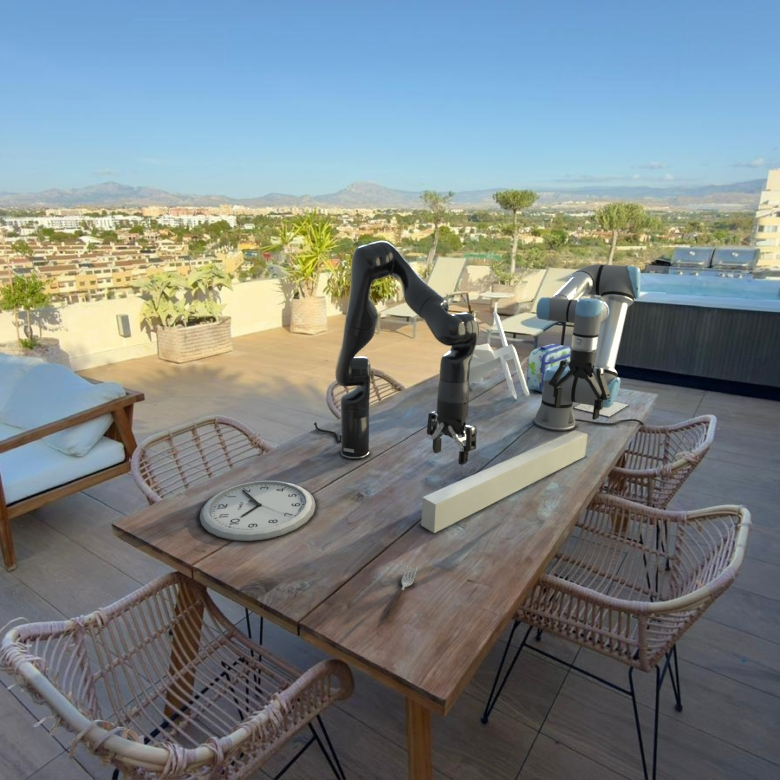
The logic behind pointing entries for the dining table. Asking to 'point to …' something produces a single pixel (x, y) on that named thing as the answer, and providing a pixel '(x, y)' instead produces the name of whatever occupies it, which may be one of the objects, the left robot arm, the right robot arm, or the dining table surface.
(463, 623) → the dining table surface
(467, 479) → the post
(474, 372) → the white plastic object
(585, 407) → the invitation card
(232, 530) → the wall clock
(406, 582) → the fork
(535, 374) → the lunch box
